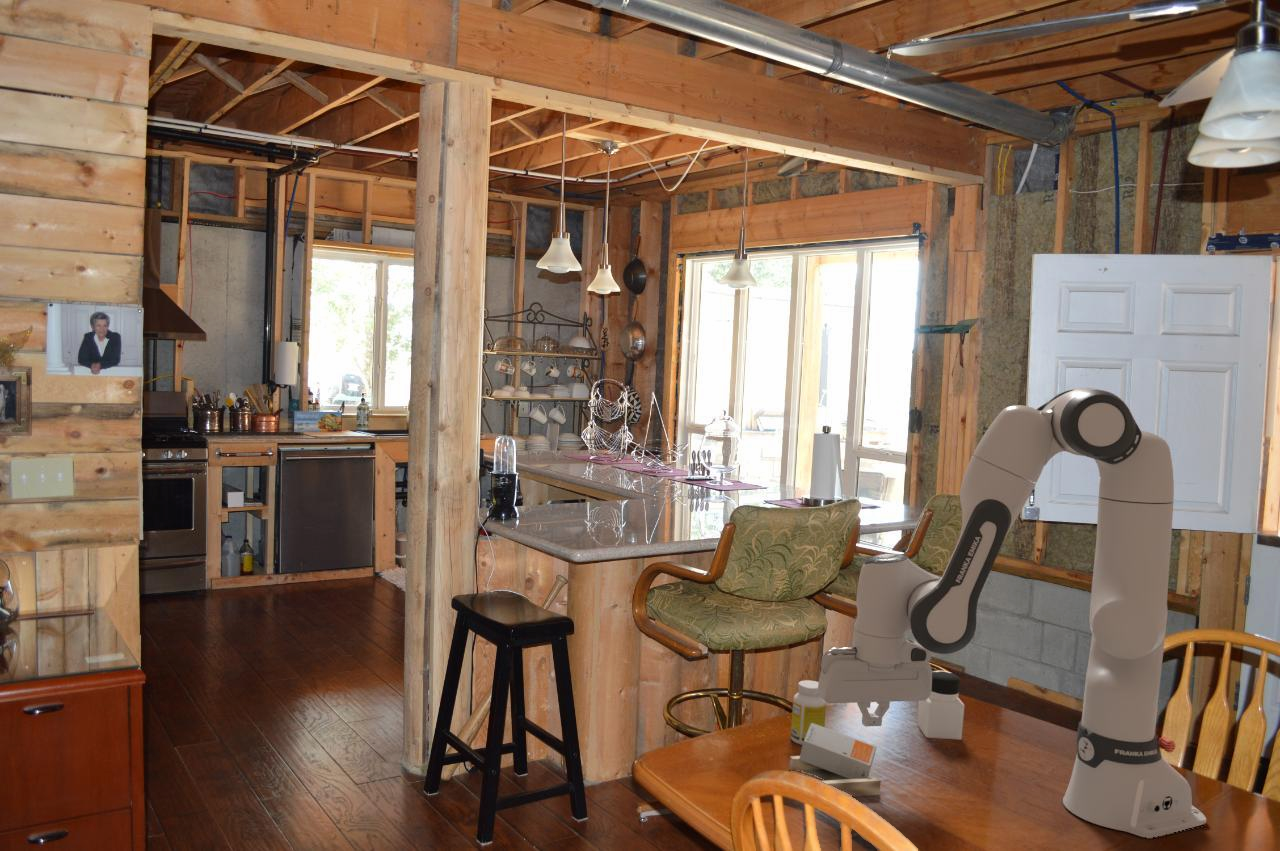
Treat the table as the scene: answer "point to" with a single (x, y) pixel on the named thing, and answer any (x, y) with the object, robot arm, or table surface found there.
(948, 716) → the medicine bottle
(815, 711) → the pill bottle
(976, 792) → the table surface
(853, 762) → the skincare box
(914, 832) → the table surface
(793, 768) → the rest
